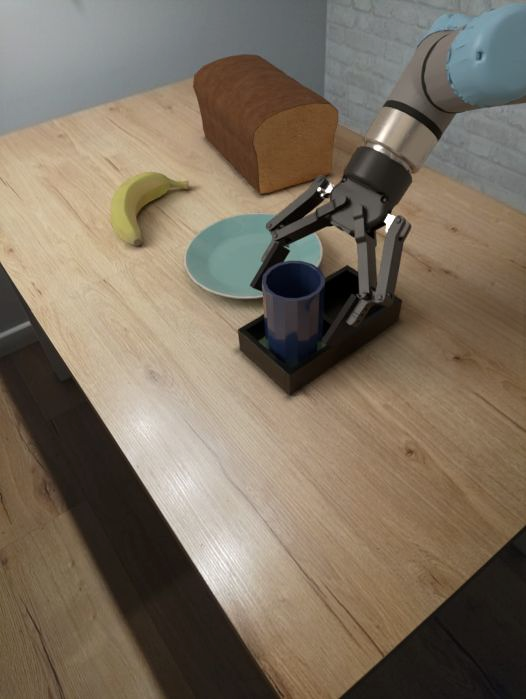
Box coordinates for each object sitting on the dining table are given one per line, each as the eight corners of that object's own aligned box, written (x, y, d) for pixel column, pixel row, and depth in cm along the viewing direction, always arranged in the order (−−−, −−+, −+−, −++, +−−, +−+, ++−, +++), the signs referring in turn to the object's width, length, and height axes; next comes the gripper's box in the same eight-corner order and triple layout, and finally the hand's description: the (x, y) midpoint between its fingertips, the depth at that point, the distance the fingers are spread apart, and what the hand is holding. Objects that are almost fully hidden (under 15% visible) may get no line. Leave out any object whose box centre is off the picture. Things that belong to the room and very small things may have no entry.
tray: (398, 321, 73) (402, 300, 70) (290, 396, 65) (289, 375, 62) (345, 285, 79) (347, 264, 76) (239, 350, 71) (237, 329, 68)
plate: (178, 313, 77) (175, 299, 75) (193, 228, 92) (190, 214, 90) (327, 308, 76) (328, 294, 74) (318, 223, 91) (318, 209, 89)
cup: (333, 350, 69) (337, 281, 60) (291, 378, 66) (290, 309, 57) (296, 321, 73) (296, 252, 65) (255, 346, 70) (249, 278, 62)
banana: (83, 187, 89) (171, 156, 100) (84, 213, 93) (169, 180, 105) (134, 232, 85) (220, 194, 97) (133, 257, 89) (215, 218, 101)
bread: (270, 119, 121) (267, 43, 109) (337, 174, 102) (342, 89, 90) (198, 138, 116) (187, 60, 104) (255, 199, 97) (249, 113, 86)
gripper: (488, 215, 56) (378, 375, 61) (327, 140, 69) (248, 276, 74) (470, 188, 50) (349, 368, 55) (298, 112, 63) (213, 262, 68)
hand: (290, 315), depth 65 cm, fingers open, 13 cm apart
